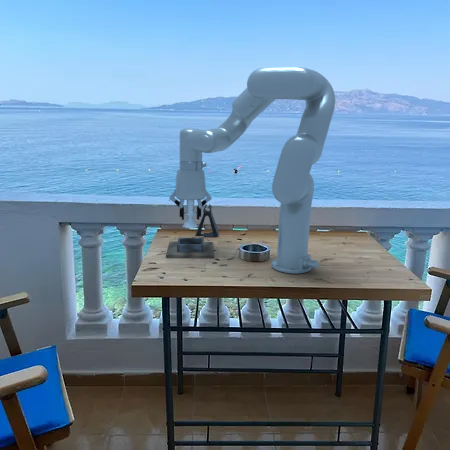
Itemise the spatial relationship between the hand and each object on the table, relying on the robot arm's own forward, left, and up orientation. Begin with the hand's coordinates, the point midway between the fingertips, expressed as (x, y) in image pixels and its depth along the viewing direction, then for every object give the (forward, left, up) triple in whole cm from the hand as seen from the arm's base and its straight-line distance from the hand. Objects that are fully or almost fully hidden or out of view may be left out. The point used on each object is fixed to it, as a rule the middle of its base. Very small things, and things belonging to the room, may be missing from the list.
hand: (190, 218), depth 158 cm
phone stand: (+8, -20, -12) cm, 25 cm away
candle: (0, 0, -3) cm, 3 cm away
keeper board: (0, 0, -12) cm, 12 cm away
